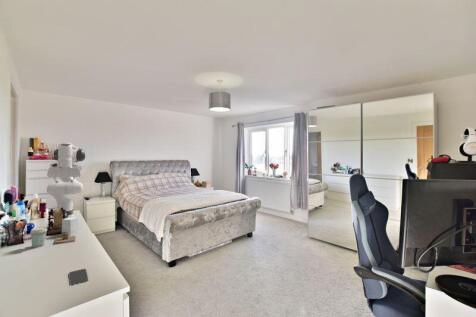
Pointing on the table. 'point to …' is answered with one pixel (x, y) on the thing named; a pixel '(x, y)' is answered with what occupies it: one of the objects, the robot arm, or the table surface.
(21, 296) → the table surface
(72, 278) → the smartphone
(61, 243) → the mat
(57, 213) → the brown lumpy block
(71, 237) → the lid
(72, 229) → the supplement box
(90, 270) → the table surface
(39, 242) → the coffee cup
